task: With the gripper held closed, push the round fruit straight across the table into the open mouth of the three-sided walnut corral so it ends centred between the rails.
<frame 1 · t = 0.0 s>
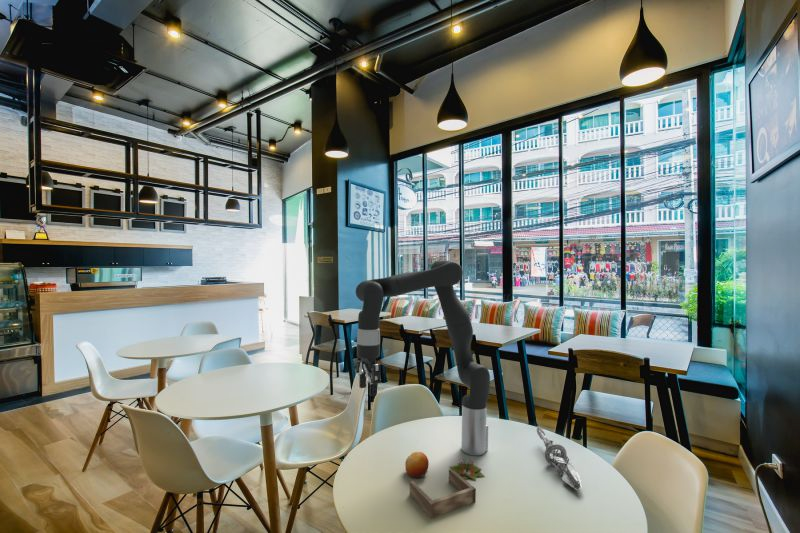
hand: (367, 391, 121), 29 cm above the table, fingers open, 8 cm apart
fruit: (416, 474, 126), on the table
walnut tray: (442, 498, 113), on the table
lily flower: (467, 473, 127), on the table
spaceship: (555, 465, 133), on the table
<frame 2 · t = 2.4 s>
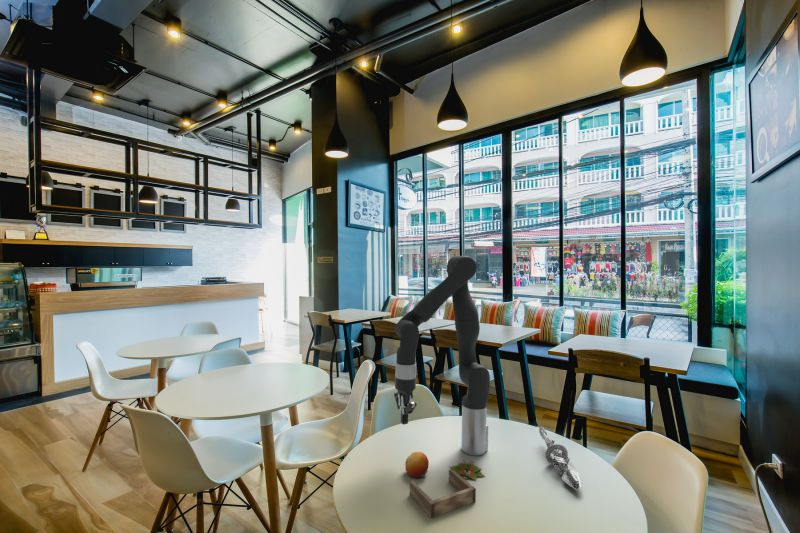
hand: (404, 423, 134), 14 cm above the table, fingers closed
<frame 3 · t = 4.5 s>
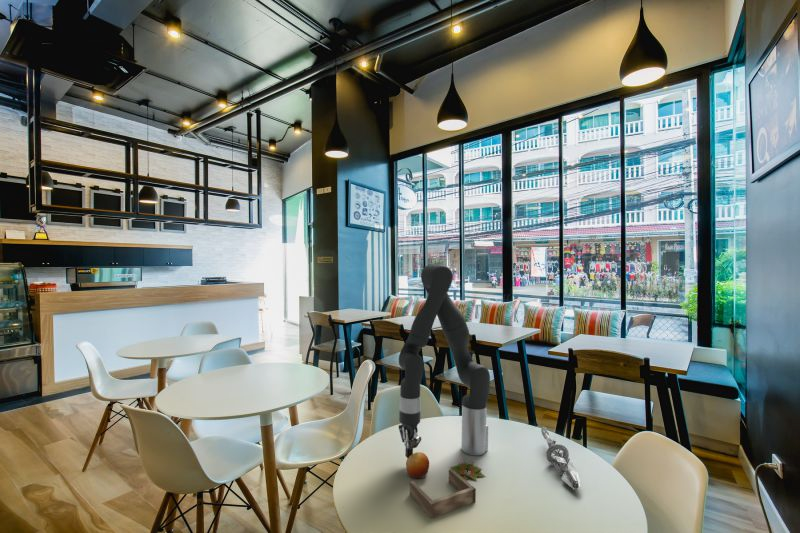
hand: (409, 457, 130), 3 cm above the table, fingers closed
fruit: (417, 474, 125), on the table, touching gripper
everything else where it was.
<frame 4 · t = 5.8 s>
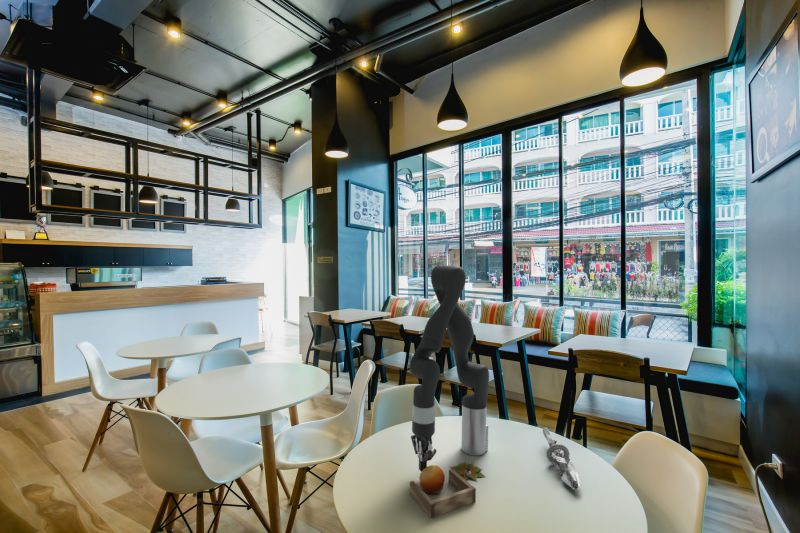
hand: (422, 470, 122), 3 cm above the table, fingers closed
fruit: (431, 489, 117), on the table, touching gripper
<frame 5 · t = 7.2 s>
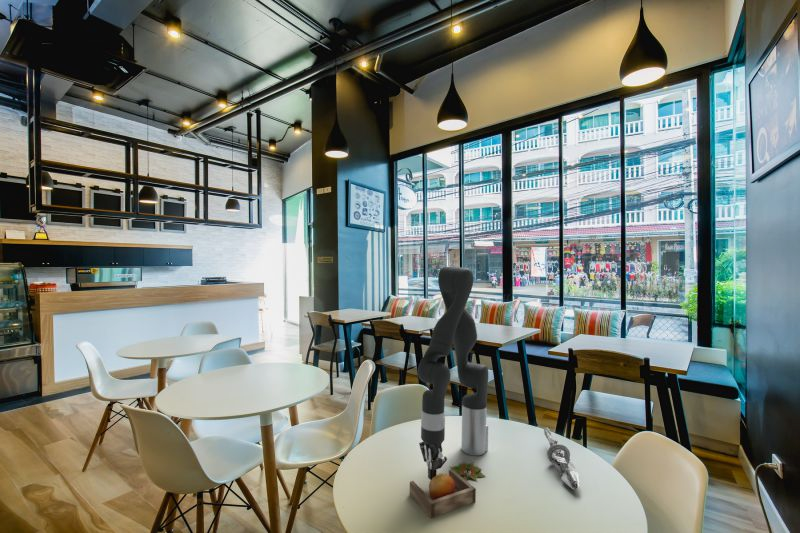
hand: (432, 478, 118), 3 cm above the table, fingers closed
fruit: (441, 499, 112), on the table, touching gripper
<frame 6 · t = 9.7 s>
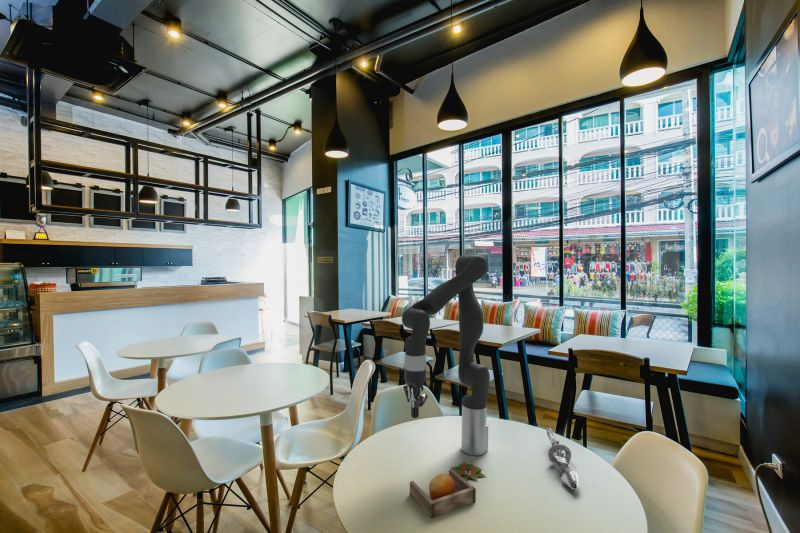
hand: (414, 416, 128), 19 cm above the table, fingers closed
fruit: (441, 499, 112), on the table
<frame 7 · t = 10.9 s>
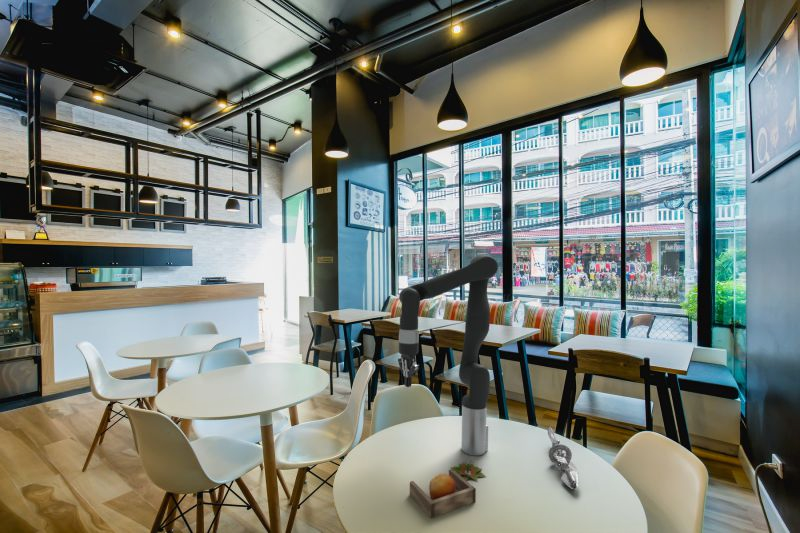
hand: (407, 386, 140), 25 cm above the table, fingers closed
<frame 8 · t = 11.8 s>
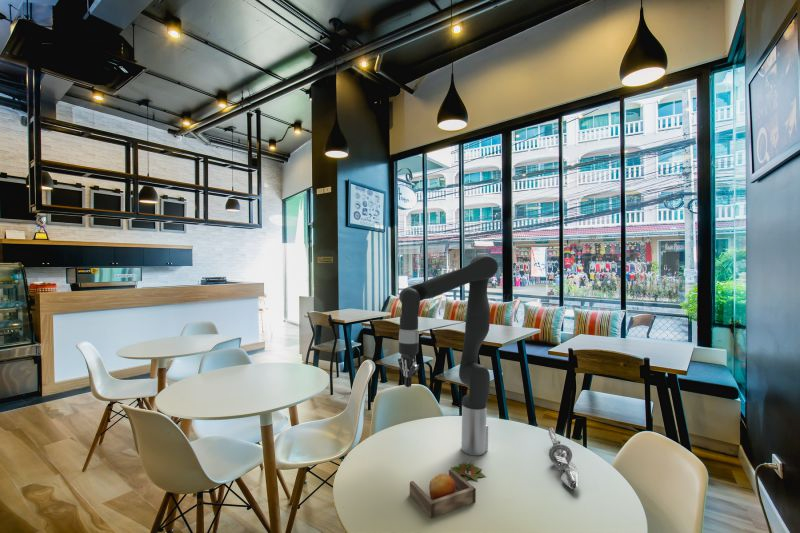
hand: (407, 386, 140), 25 cm above the table, fingers closed
at the end: walnut tray inside the target area in the fruit (0.9 cm from its centre), point 0.3 cm above the fruit's base; fruit moved 15.1 cm from its start; lily flower moved 0.8 cm from its start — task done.
